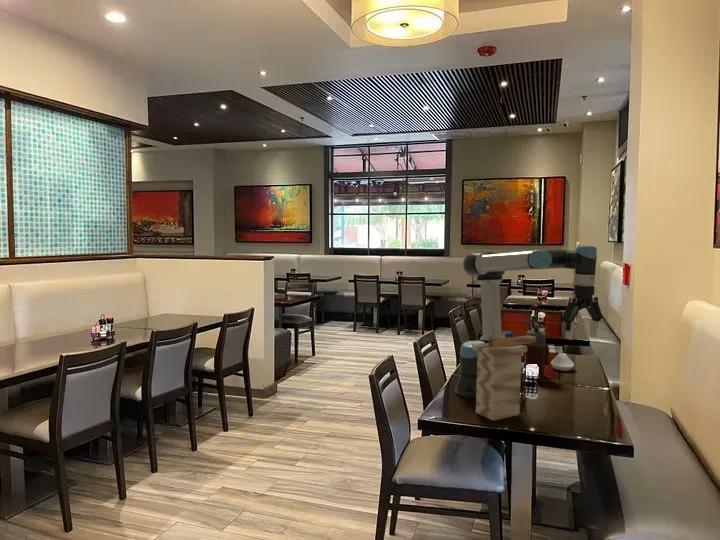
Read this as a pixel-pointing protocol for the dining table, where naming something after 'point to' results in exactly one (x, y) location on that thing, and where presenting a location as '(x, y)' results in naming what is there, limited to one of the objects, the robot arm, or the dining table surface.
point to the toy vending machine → (538, 350)
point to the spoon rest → (562, 362)
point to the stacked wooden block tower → (498, 380)
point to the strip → (512, 341)
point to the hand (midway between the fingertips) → (581, 338)
